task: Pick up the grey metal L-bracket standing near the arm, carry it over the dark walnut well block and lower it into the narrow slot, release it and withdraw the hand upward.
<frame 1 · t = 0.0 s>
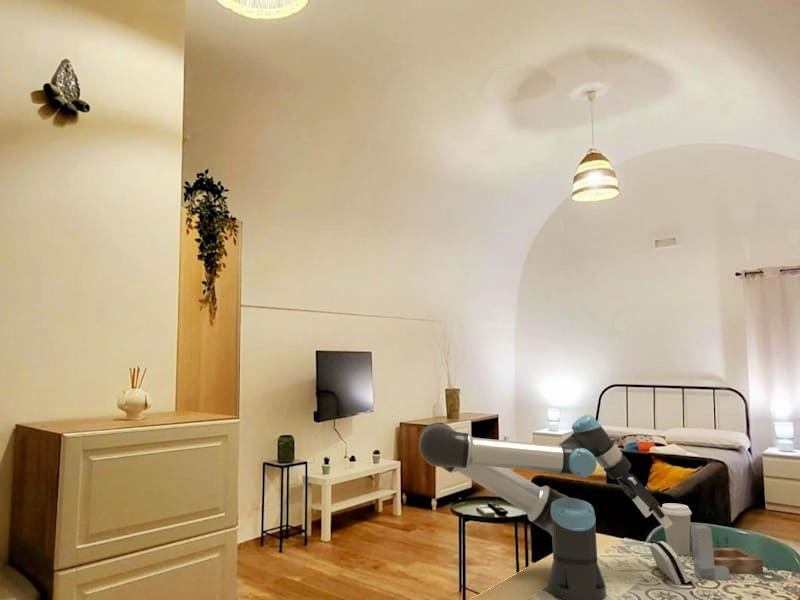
hand: (658, 520, 168), 15 cm above the table, tool tilted 35°, fingers open, 13 cm apart
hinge: (670, 576, 166), on the table
well: (726, 566, 172), on the table
bracket: (704, 577, 164), on the table
coffee cup: (678, 553, 186), on the table
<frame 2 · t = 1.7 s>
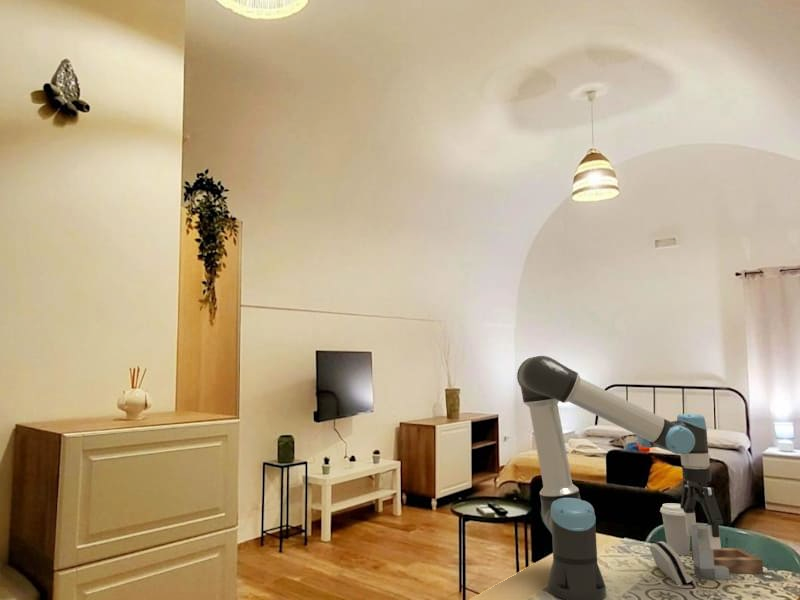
hand: (703, 541, 165), 10 cm above the table, tool pointing down, fingers open, 13 cm apart
nothing on the table moved.
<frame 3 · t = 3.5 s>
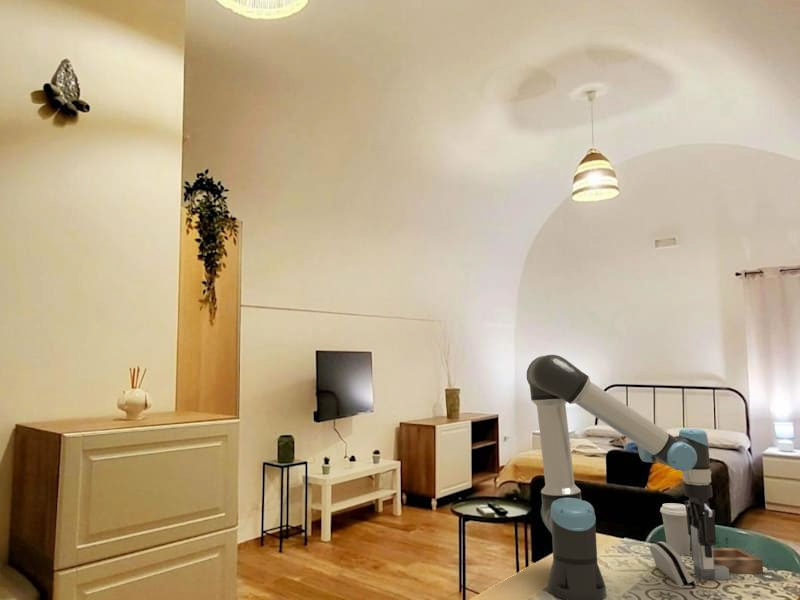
hand: (704, 565, 164), 3 cm above the table, tool pointing down, fingers closed on bracket, 4 cm apart
bracket: (704, 577, 164), on the table, touching gripper
everything else where it was.
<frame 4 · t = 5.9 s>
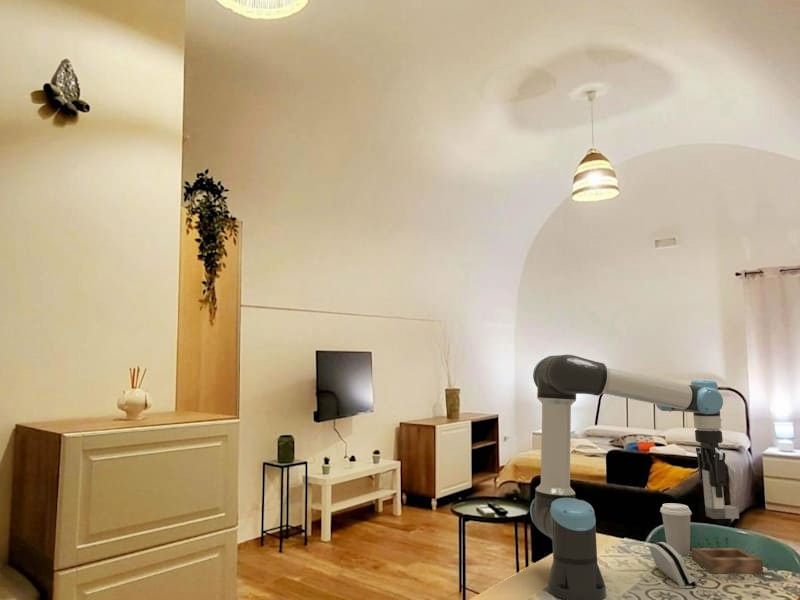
hand: (714, 506, 175), 18 cm above the table, tool pointing down, fingers closed on bracket, 4 cm apart
bracket: (715, 517, 174), point 15 cm above the table, touching gripper
everything else where it was.
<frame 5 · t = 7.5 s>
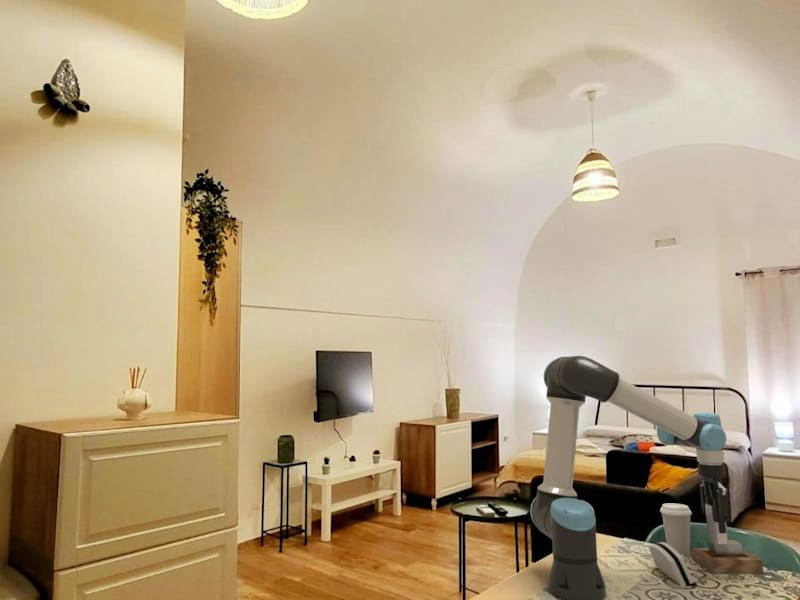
hand: (717, 541, 173), 7 cm above the table, tool pointing down, fingers closed on bracket, 4 cm apart
bracket: (719, 552, 173), point 4 cm above the table, touching gripper
everything else where it was.
when the fingers open (5 cm above the table, at t = 8.7 s): bracket drops 1 cm, resting on well.
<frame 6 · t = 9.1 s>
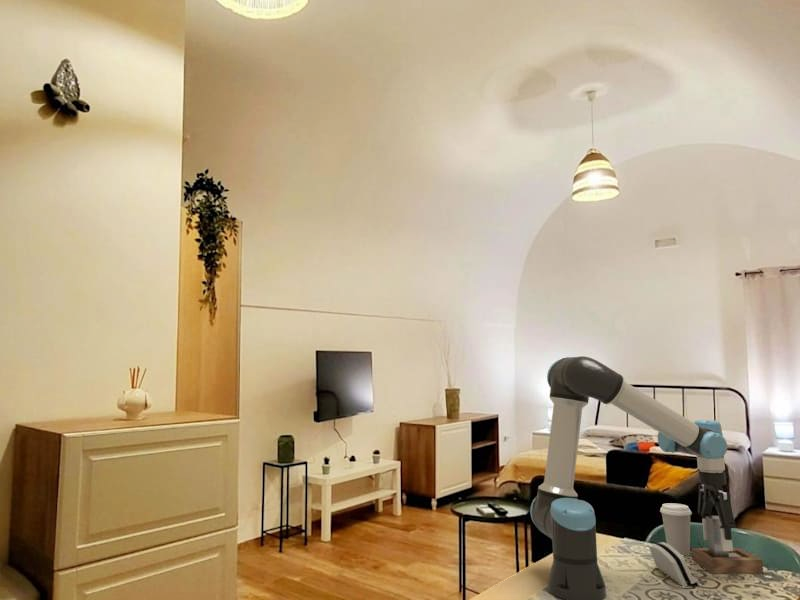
hand: (717, 545, 173), 6 cm above the table, tool pointing down, fingers open, 10 cm apart
bracket: (719, 565, 172), resting on well
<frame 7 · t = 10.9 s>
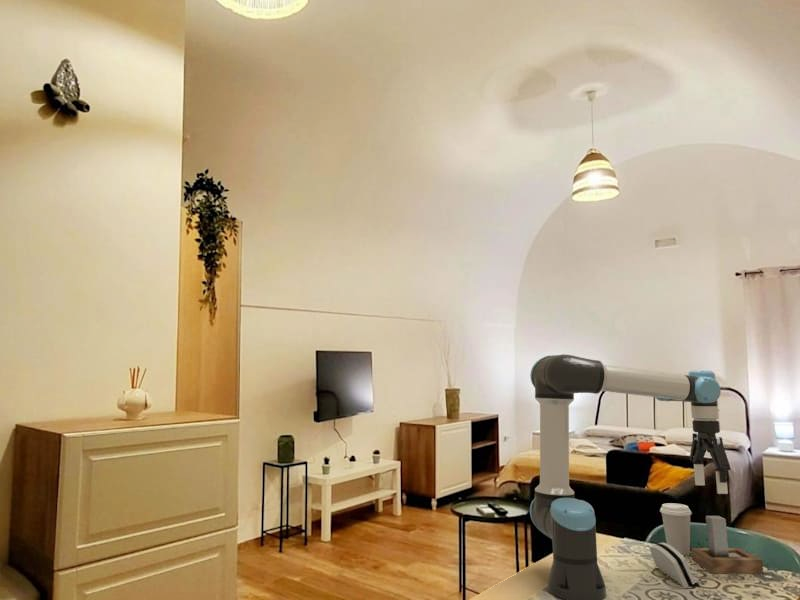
hand: (710, 489, 176), 23 cm above the table, tool pointing down, fingers open, 13 cm apart
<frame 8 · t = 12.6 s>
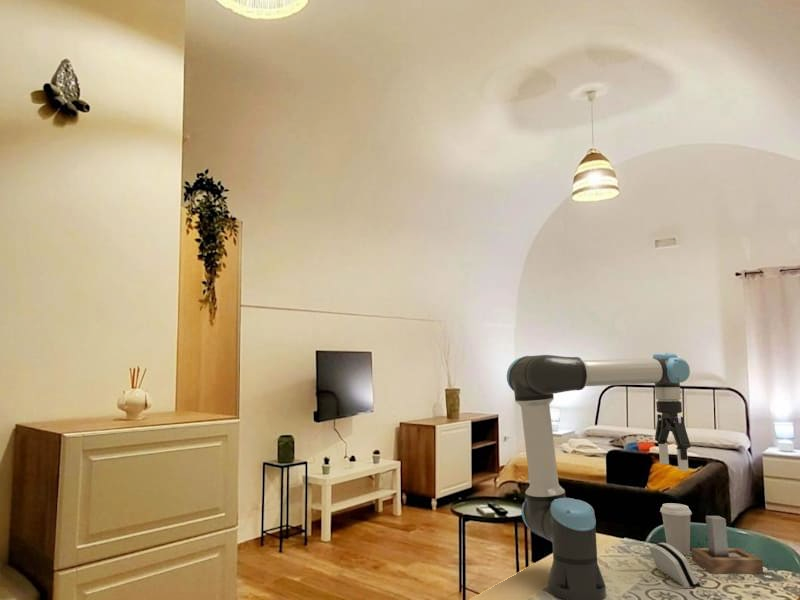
hand: (673, 467, 182), 29 cm above the table, tool pointing down, fingers open, 13 cm apart
at the end: bracket 0.5 cm from the target spot on the well, point 0.5 cm above the well's base; bracket tilted 0°; the gripper is holding nothing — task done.
